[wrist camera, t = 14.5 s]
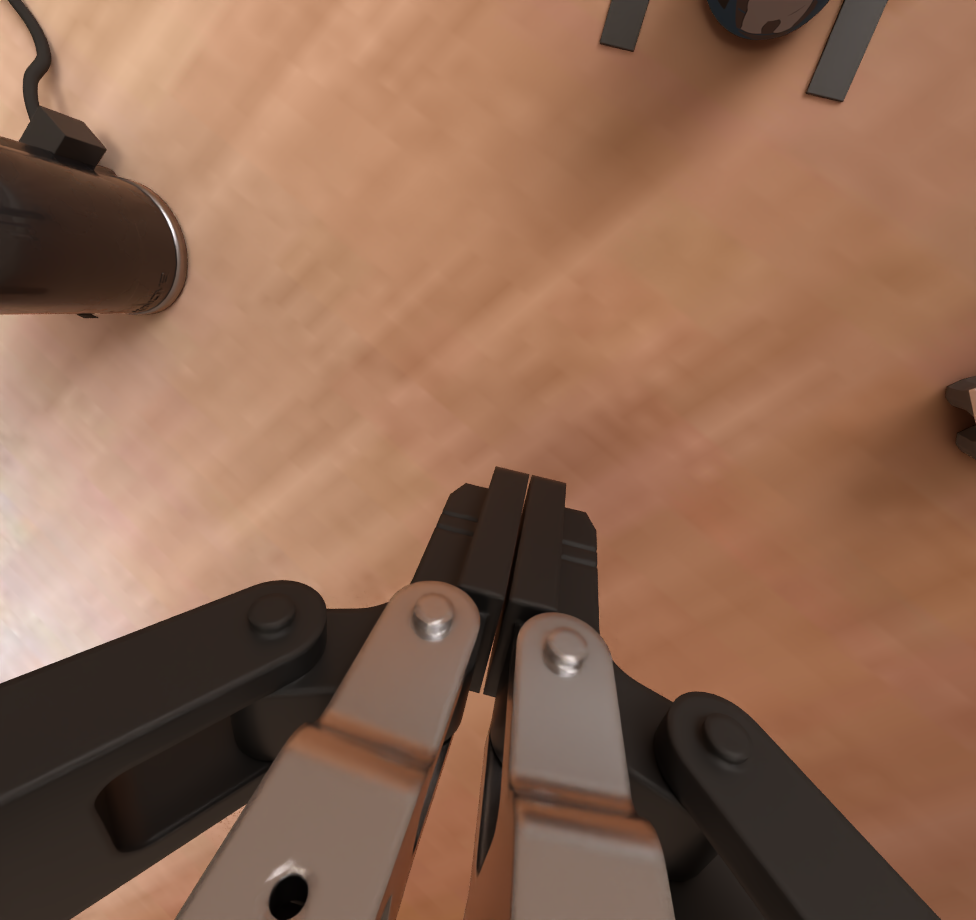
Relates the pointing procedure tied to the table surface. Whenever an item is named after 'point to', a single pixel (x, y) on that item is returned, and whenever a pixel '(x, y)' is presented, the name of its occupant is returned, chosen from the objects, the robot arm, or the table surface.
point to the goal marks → (835, 62)
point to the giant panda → (972, 398)
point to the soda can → (764, 16)
